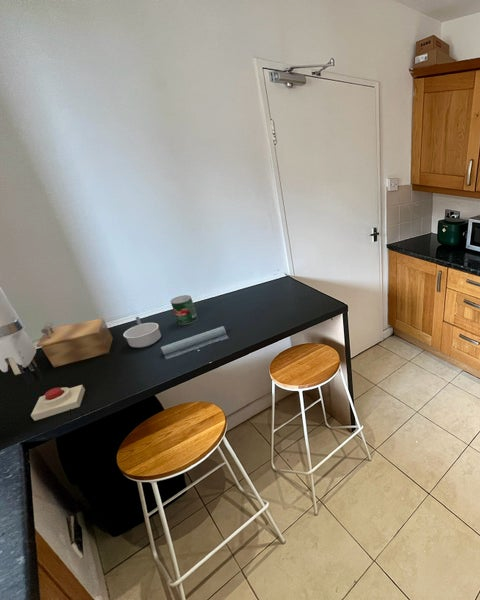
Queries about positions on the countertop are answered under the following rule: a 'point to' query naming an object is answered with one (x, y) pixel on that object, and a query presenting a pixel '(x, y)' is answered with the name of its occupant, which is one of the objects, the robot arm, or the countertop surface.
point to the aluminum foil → (194, 342)
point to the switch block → (58, 403)
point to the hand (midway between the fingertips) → (35, 380)
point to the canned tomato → (184, 309)
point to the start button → (53, 393)
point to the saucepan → (142, 334)
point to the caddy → (79, 348)
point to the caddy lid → (69, 332)
